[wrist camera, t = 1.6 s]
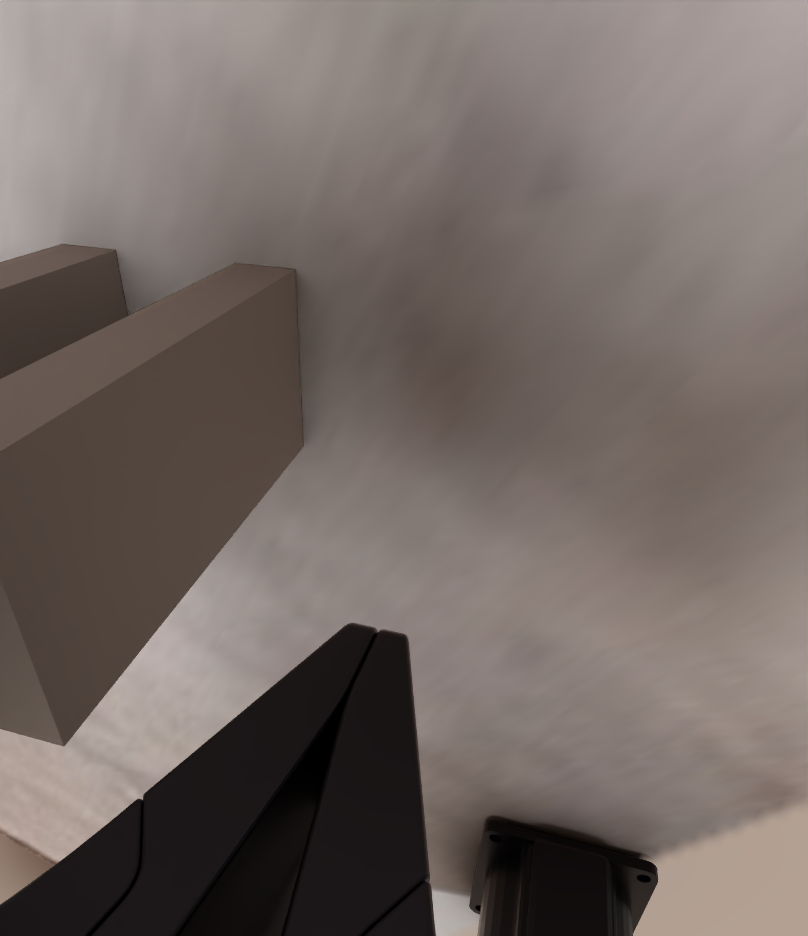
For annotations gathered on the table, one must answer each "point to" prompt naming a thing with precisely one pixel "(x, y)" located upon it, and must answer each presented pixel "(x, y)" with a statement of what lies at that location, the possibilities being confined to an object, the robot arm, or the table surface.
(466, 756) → the table surface
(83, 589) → the domino
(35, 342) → the domino
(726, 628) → the table surface
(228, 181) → the table surface
